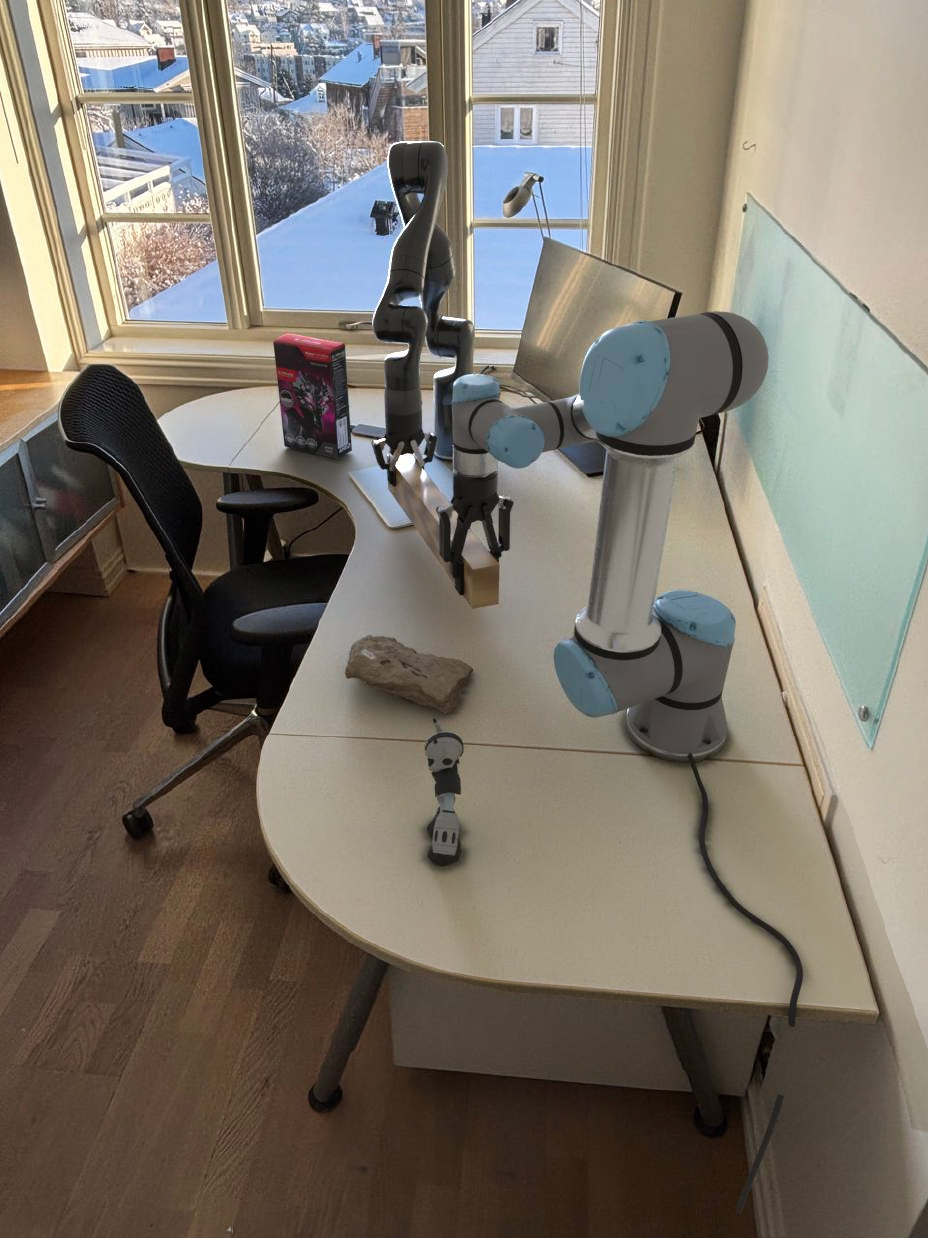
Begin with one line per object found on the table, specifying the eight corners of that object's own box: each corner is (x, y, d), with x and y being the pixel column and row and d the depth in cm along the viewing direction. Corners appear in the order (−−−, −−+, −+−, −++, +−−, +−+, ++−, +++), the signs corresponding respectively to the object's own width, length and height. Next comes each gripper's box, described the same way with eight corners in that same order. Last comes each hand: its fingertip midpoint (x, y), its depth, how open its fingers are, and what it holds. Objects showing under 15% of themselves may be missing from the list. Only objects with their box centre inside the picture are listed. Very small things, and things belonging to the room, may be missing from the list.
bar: (498, 604, 163) (499, 564, 158) (472, 609, 162) (472, 569, 157) (409, 485, 203) (408, 450, 198) (388, 488, 201) (386, 454, 197)
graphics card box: (282, 447, 232) (270, 339, 217) (298, 438, 237) (288, 331, 222) (338, 461, 225) (330, 350, 210) (354, 451, 230) (347, 342, 215)
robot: (466, 900, 116) (468, 784, 104) (427, 902, 115) (425, 785, 104) (459, 789, 132) (460, 678, 121) (425, 790, 132) (423, 679, 120)
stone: (320, 686, 146) (326, 652, 144) (355, 651, 160) (362, 621, 157) (443, 730, 143) (452, 697, 140) (469, 692, 156) (477, 661, 154)
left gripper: (430, 395, 191) (432, 471, 201) (364, 404, 187) (368, 480, 196) (443, 408, 185) (443, 485, 195) (374, 417, 181) (378, 495, 191)
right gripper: (516, 453, 159) (512, 569, 172) (416, 468, 154) (420, 587, 166) (534, 470, 153) (528, 589, 166) (431, 486, 148) (433, 608, 161)
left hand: (405, 482), depth 196 cm, fingers closed on bar, 5 cm apart
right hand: (474, 588), depth 166 cm, fingers closed on bar, 5 cm apart
